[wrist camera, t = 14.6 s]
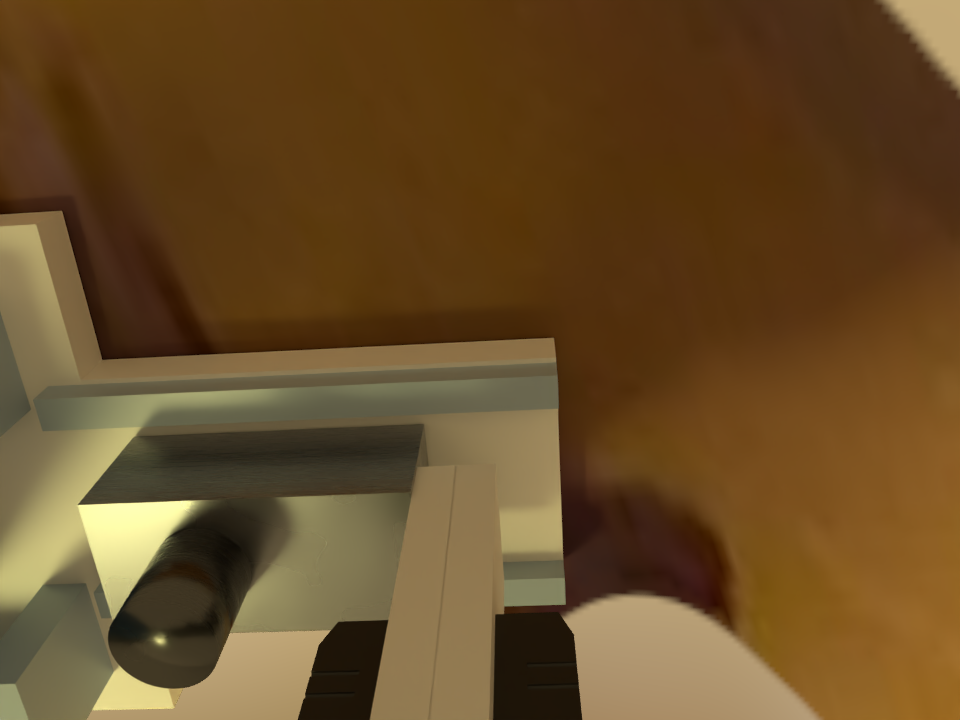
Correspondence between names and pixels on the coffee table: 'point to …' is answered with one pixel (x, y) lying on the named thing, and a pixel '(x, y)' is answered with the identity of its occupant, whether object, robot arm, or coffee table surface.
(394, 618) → the robot arm
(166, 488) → the bar
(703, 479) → the coffee table surface
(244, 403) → the dock station
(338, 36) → the coffee table surface
